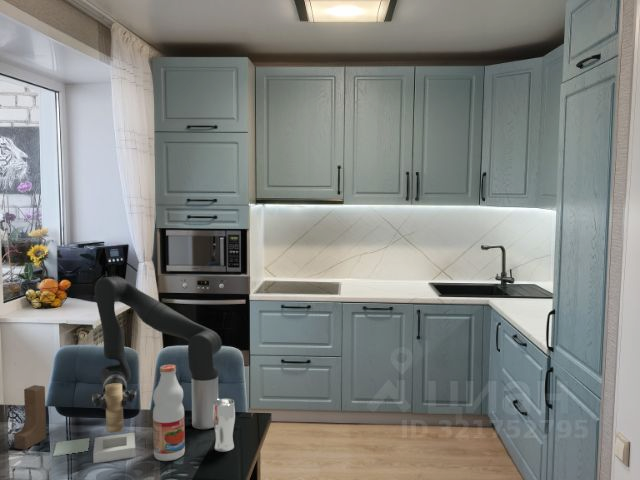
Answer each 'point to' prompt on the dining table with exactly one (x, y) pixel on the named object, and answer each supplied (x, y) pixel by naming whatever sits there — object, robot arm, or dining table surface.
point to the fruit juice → (168, 416)
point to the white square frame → (114, 447)
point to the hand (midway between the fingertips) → (114, 405)
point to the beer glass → (224, 424)
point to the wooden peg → (114, 407)
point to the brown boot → (32, 418)
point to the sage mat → (71, 447)
